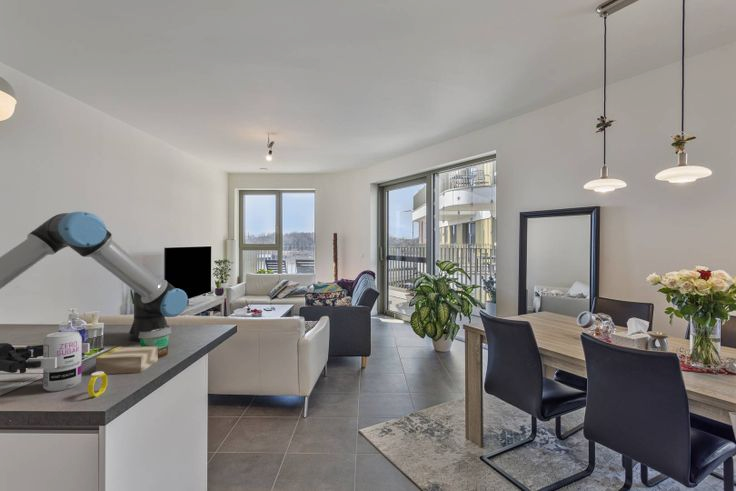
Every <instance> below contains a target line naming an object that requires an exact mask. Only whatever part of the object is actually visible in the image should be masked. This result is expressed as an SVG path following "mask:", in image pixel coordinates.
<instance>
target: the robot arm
mask: <svg viewBox="0 0 736 491" xmlns="http://www.w3.org/2000/svg"><path fill="white" fill-rule="evenodd" d="M67 247H69V248H71V249H72V250H73V251H74V252H76V253H77V254H78V255H80V256H81V257H83V258H86V257H87V258H92V259H93V260H94V261H95V262H97V263H98V264H99V265H101V266H102V267H103V268H104V269H106V270H107V271H108V272H110V273H111V274H112V275H113V276H115V277H116V278H118V279H119V280H120V281H122V282H123V283H124V284H125V285H126V286H128V287H129V288H131V290H133V321H132V324H131V327H130V330H129V332H128V339H129V340H130V341H136V342H140V338H138V337H139V334H140V332H149V331H151V330H153V329H160V328H163V327H164V325H168V322H167V320H166V318H175V317H178V316H179V315H181V314H182V313H183V312H184V311H185V310H186V308H187V305H188V302H189V301H188V300H189V299H188V298H189V297H188V295H187V292H185V290H183V289H180V288H176V287H175V286H173V285H172V284H171V283H170V282H168V281H167V280H166V279H159V278H158V277H156V276H155V275H154V274H153V273H152V272H151V271H149V270H148V269H147V268H146V267H145V266H143V265H142V264H141V263H140V262H139V261H137V259H135V258H134V257H133V256H131V255H130V254H129V253H128V252H127V251H126V250H124V249H123V248H122V247H121V246H120V245H118V244H117V243H116V242H115V241H114V240H113V233H111V232H110V230H108V229H107V226H106V223H105V222H104V221H103V220H102V219H101V217H99V216H97V215H95V214H93V213H90V212H86V211H72V212H64V213H63V212H62V213H59V214H56V215H54V216H52V217H50V218H48V219H47V220H46V221H44V222H43V223H42V224H40V225H39V226H37V228H35V229H34V230H32V231H31V232H29V233H28V234H27V238H26V239H25V240H23V241H22V242H21V243H19V244H17V245H15V247H13V248H11V249H10V250H9V251H7V252H5V253H4V254H3V255H1V256H0V290H1V289H3V288H4V287H5V286H7V285H8V284H9V283H11V282H12V281H14V280H15V279H16V278H18V277H19V276H21V274H24V272H26V271H28V270H29V269H30V268H32V267H33V266H34V265H36V264H37V263H38V262H40V261H41V260H42V259H44V258H45V257H47V256H49V255H51V256H52V255H53V256H54V255H55V254H56V253H58V252H59V251H61V250H63V249H65V248H67ZM90 350H91V349H90V342H87V343H82V354H88V353H90ZM51 368H57V357H51V358H43V344H36V345H35V344H34V345H26V346H25V347H18V348H14V346H13V345H12V344H10V343H9V342H8V343H6V342H0V372H4V373H9V374H16V373H17V372H18V371H19V372H18V373H19V374H25V373H27V370H42V369H51Z"/></svg>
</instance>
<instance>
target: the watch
mask: <svg viewBox="0 0 736 491" xmlns="http://www.w3.org/2000/svg"><path fill="white" fill-rule="evenodd" d="M90 377H91V378H90V379H89V380H88V384H87V394H88V396H89V397H91V398H98V397H99V396H101V395H102V394H103V393H105V391H106V389H107V387H108V382H109V381H108V376H107V374H104V372H103V371H99V372H96V371H95V372H92V373H91V374H90ZM98 378H101V386H100V388H99V390H98V391H97V392H96V393H95V391H94V389H95V388H94V387H95V384H96V380H97V379H98Z"/></svg>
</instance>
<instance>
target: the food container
mask: <svg viewBox="0 0 736 491" xmlns="http://www.w3.org/2000/svg"><path fill="white" fill-rule="evenodd" d="M171 334H172V328H171V326H170V325H168V324H167V325H164V327H163V328H160V329H153V330H151V331H149V332H140V334H139V337H138V338H140V341H139V342H140V345H139V346H140V347H143V346H158V359H161V358H163V357H166V356H167V355H168V353H169V352H168V351H169V342H170V335H171Z"/></svg>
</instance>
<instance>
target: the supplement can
mask: <svg viewBox="0 0 736 491" xmlns="http://www.w3.org/2000/svg"><path fill="white" fill-rule="evenodd" d="M82 337H83V336H82V335H81V334H80V332H79V331H78V330H67V331H65V330H64V331H58V332H53V333H49V334H47V335H46V337H45V338H44V340H43V344H42V345H43V356H42V358H51V357H57V368H51V369H43V370H42V371H43V374H42V376H43V378H42V379H43V380H42V381H43V384H42V388H43V390H46V391H47V392H60V391H66V390H69V389H72V388H75V387H77V386H78V385H79V384H80V383H81V382H82V360H83V359H82V354H83V353H82V342H83V341H82Z"/></svg>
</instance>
